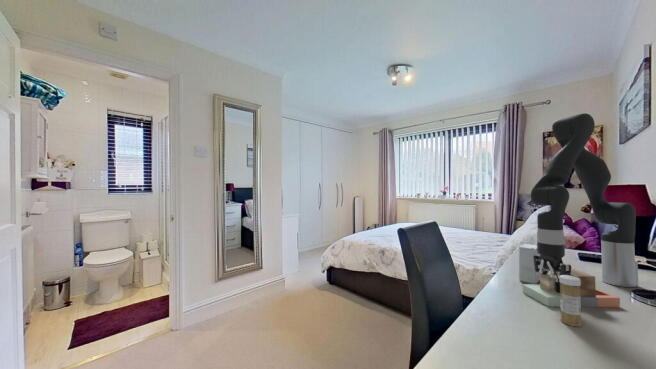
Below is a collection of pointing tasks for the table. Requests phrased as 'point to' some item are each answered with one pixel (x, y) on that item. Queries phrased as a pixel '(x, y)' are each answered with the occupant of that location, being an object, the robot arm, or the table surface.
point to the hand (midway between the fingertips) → (551, 288)
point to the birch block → (547, 283)
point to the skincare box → (528, 264)
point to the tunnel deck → (587, 293)
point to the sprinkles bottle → (570, 300)
